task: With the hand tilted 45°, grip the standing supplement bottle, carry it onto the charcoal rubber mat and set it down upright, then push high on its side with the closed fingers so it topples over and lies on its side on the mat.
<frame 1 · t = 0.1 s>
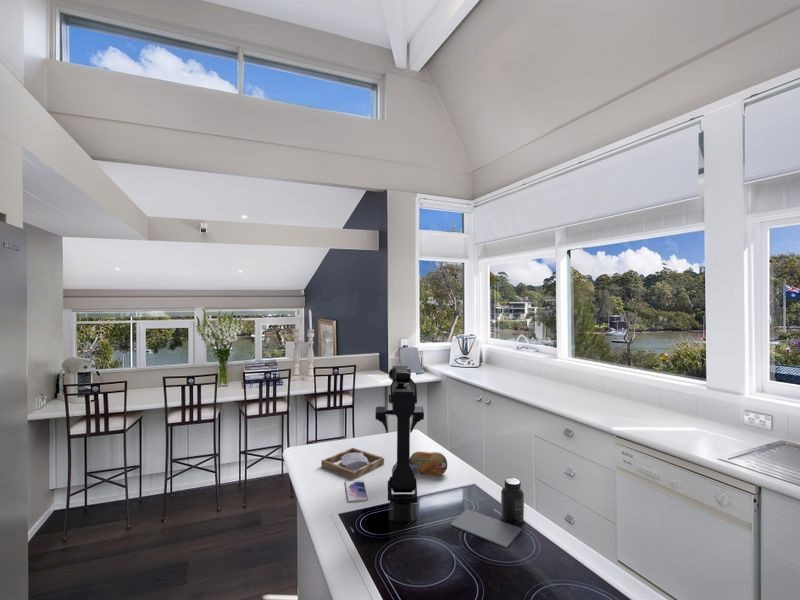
hand: (399, 432, 159), 15 cm above the kitchen island, tool pointing down, fingers open, 9 cm apart
stone block: (353, 466, 164), on the kitchen island
smartphone: (355, 492, 143), on the kitchen island
rubber mat: (485, 527, 121), on the kitchen island
supplement bottle: (512, 519, 126), on the kitchen island
tin: (427, 474, 157), on the kitchen island
walnut tray frame: (353, 465, 164), on the kitchen island
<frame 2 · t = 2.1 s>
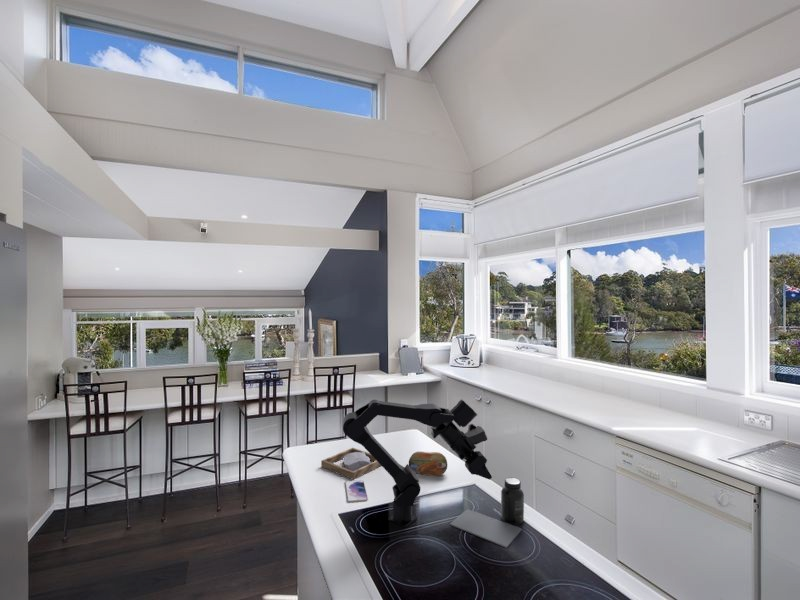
hand: (485, 471, 128), 14 cm above the kitchen island, tool tilted 45°, fingers open, 9 cm apart
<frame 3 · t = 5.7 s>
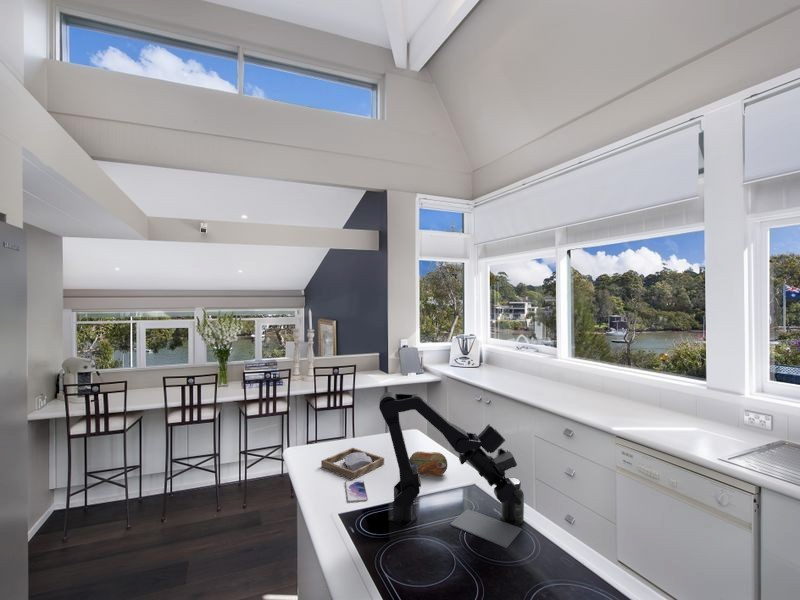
hand: (516, 497, 126), 7 cm above the kitchen island, tool tilted 45°, fingers closed on supplement bottle, 7 cm apart
stone block: (356, 466, 164), on the kitchen island, touching walnut tray frame
supplement bottle: (512, 519, 126), on the kitchen island, touching gripper
everything else where it was.
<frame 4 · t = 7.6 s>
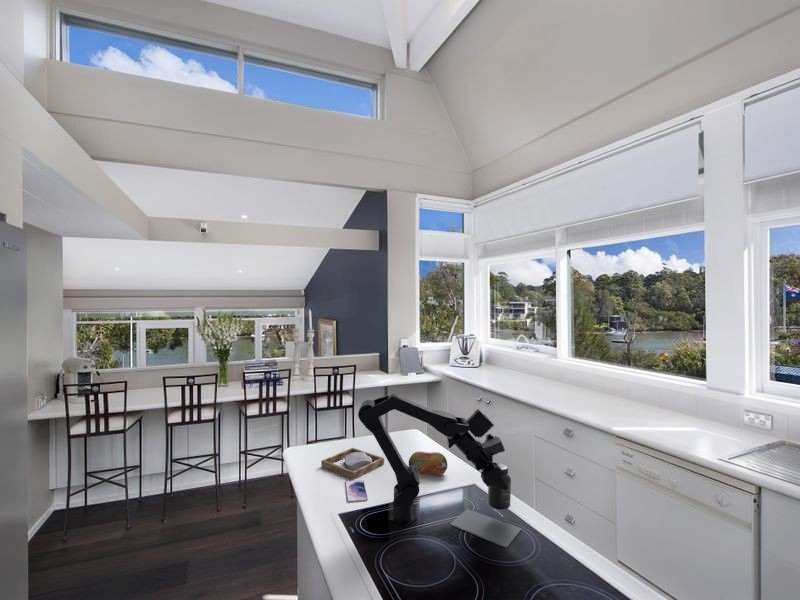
hand: (503, 483, 125), 11 cm above the kitchen island, tool tilted 45°, fingers closed on supplement bottle, 7 cm apart
supplement bottle: (498, 505, 125), point 5 cm above the kitchen island, touching gripper
everything else where it was.
when the fingers open (8 cm above the kitchen island, at t = 9.8 s): supplement bottle stays where it is, resting on rubber mat.
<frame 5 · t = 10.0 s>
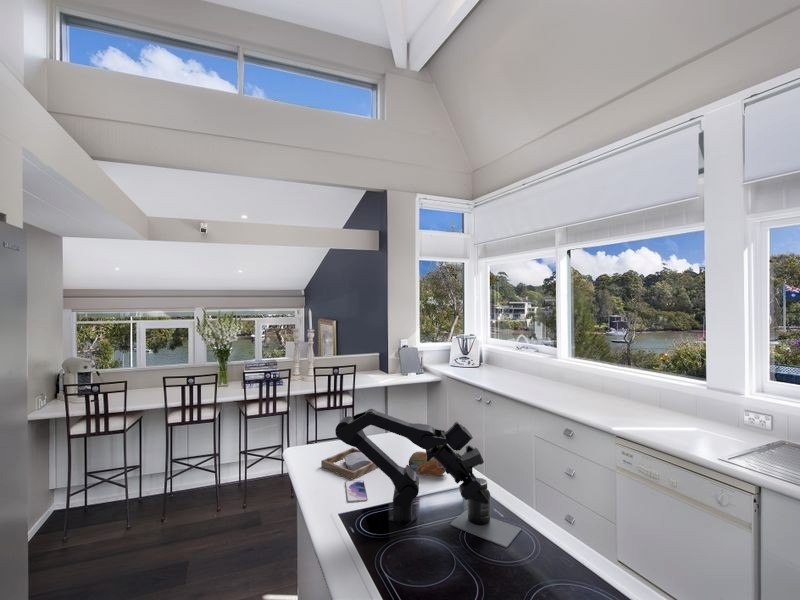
hand: (484, 495, 124), 8 cm above the kitchen island, tool tilted 45°, fingers open, 9 cm apart
stone block: (357, 466, 165), on the kitchen island
supplement bottle: (478, 520, 124), resting on rubber mat
everything else where it was.
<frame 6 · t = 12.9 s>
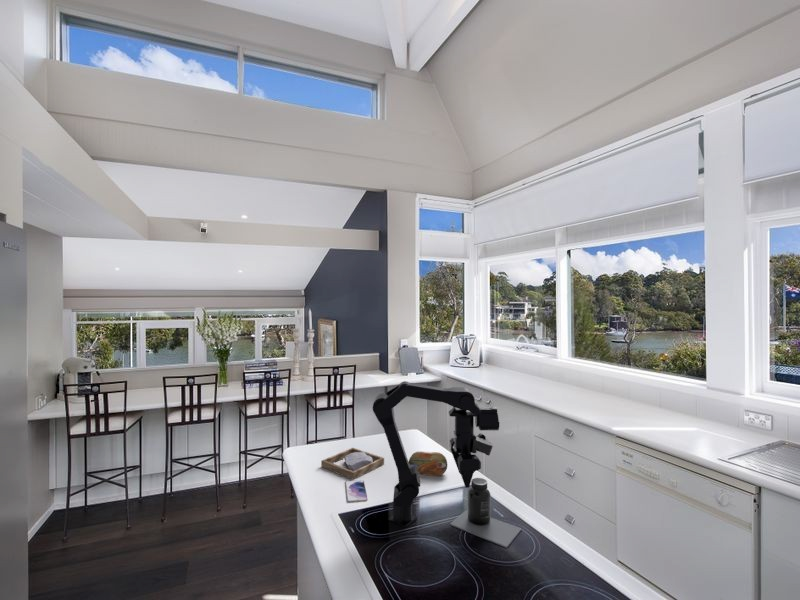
hand: (464, 480, 124), 13 cm above the kitchen island, tool pointing down, fingers open, 9 cm apart
nothing on the kitchen island moved.
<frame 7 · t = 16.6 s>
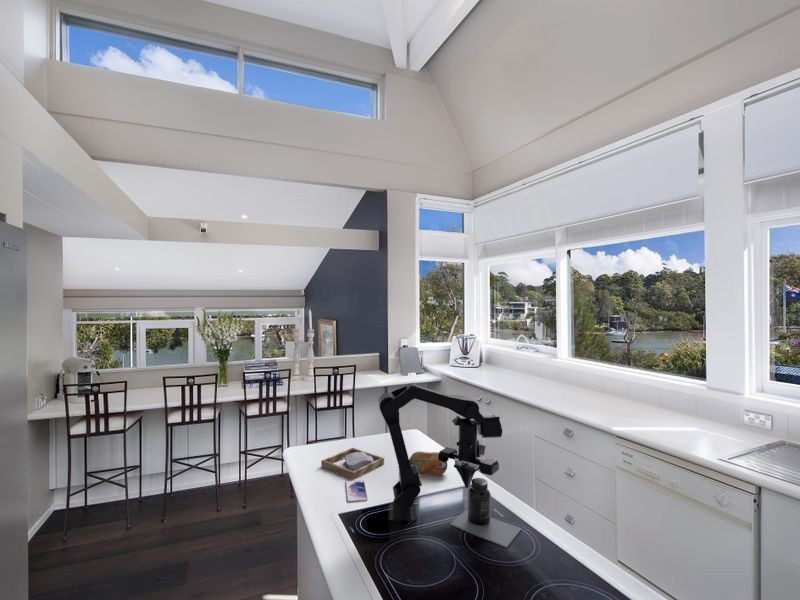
hand: (467, 487, 127), 9 cm above the kitchen island, tool pointing down, fingers closed
supplement bottle: (478, 520, 124), resting on rubber mat, touching gripper
everything else where it was.
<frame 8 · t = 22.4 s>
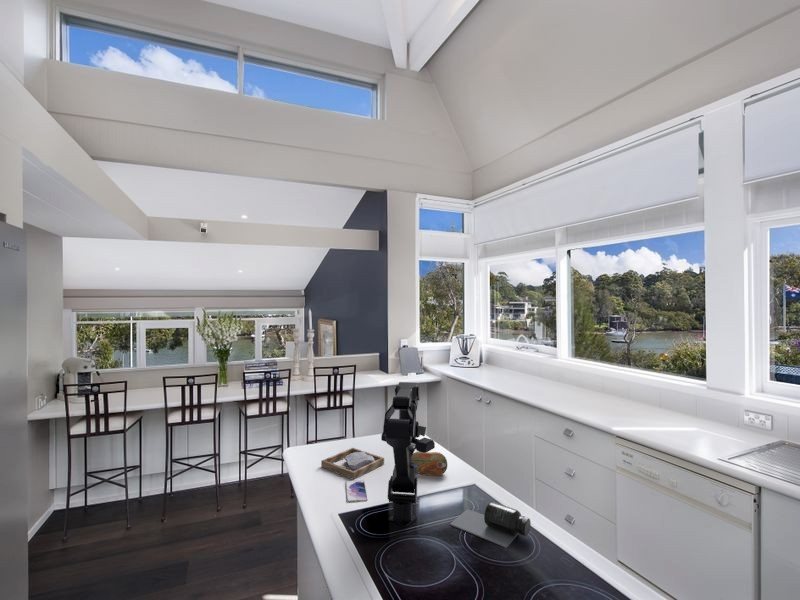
hand: (407, 465, 136), 12 cm above the kitchen island, tool pointing down, fingers closed
supplement bottle: (488, 512, 122), point 4 cm above the kitchen island, touching rubber mat
everything else where it was.
at the end: supplement bottle tilted 90°; supplement bottle 1.5 cm from the rubber mat (horizontally); the gripper is holding nothing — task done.
